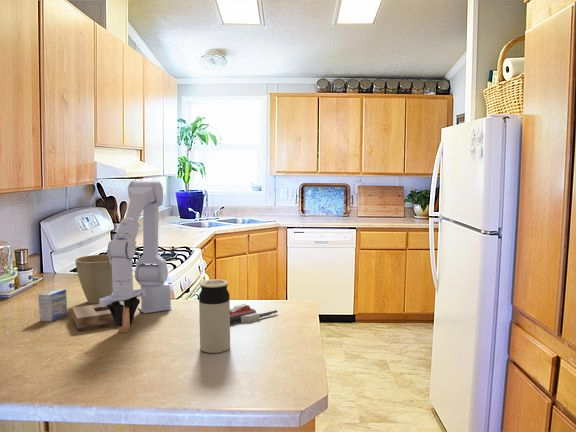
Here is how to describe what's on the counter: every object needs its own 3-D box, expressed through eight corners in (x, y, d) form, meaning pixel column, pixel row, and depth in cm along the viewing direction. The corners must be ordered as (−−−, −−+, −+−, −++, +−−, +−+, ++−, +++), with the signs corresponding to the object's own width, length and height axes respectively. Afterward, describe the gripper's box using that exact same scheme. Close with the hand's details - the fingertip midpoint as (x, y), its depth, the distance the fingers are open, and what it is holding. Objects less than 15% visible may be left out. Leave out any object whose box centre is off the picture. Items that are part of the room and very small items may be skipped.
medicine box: (51, 322, 154) (50, 295, 153) (39, 321, 154) (37, 294, 154) (67, 314, 161) (66, 288, 160) (55, 313, 162) (54, 288, 161)
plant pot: (68, 306, 171) (66, 261, 170) (92, 295, 186) (90, 254, 184) (107, 308, 168) (105, 262, 167) (128, 297, 183) (127, 255, 182)
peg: (128, 328, 147) (128, 305, 146) (131, 331, 144) (130, 308, 144) (117, 330, 145) (116, 307, 145) (119, 333, 143) (119, 310, 142)
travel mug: (236, 347, 131) (235, 282, 129) (213, 356, 125) (211, 287, 123) (217, 340, 136) (216, 277, 134) (194, 348, 130) (192, 282, 129)
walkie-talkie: (227, 329, 148) (279, 316, 160) (227, 314, 147) (279, 303, 160) (212, 322, 154) (263, 310, 167) (212, 308, 154) (263, 297, 167)
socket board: (124, 312, 164) (123, 300, 163) (133, 322, 152) (132, 310, 152) (72, 319, 156) (72, 307, 155) (77, 331, 144) (77, 318, 144)
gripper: (134, 273, 152) (136, 316, 153) (92, 282, 140) (94, 328, 141) (149, 276, 147) (150, 320, 149) (106, 285, 136) (108, 333, 137)
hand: (124, 324), depth 145 cm, fingers closed on peg, 3 cm apart
